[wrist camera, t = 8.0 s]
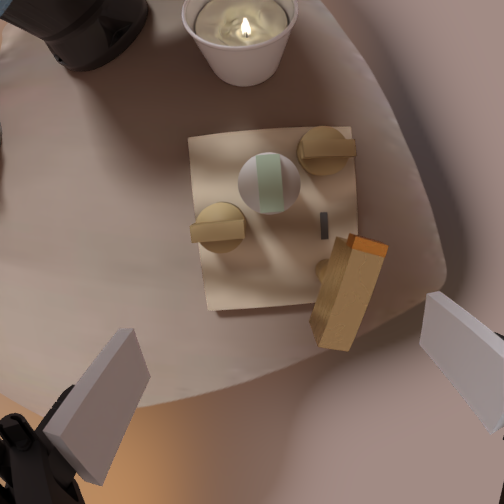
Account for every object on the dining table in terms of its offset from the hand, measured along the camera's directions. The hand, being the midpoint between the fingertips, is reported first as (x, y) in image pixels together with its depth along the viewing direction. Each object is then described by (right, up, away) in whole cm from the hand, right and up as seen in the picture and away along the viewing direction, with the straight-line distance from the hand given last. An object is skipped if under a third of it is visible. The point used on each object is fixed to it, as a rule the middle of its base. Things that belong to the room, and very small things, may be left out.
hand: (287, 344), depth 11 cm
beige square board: (+1, +8, +22) cm, 23 cm away
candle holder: (-2, +27, +17) cm, 32 cm away
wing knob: (+7, +2, +20) cm, 22 cm away
